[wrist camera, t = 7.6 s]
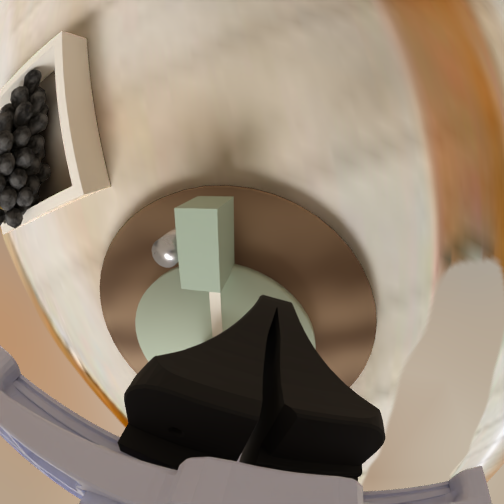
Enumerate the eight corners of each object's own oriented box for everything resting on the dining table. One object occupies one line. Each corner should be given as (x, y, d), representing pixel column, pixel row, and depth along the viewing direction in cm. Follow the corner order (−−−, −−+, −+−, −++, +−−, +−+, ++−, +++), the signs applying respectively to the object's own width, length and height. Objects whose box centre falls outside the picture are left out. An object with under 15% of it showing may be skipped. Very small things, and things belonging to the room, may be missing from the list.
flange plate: (303, 408, 24) (301, 440, 20) (157, 387, 26) (143, 412, 22) (334, 201, 17) (343, 215, 13) (120, 197, 19) (87, 209, 15)
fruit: (-25, 66, 9) (-41, 233, 14) (39, 57, 11) (16, 250, 16) (23, 74, 17) (4, 205, 22) (83, 74, 19) (57, 217, 24)
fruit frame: (110, 186, 21) (84, 194, 17) (24, 225, 24) (3, 234, 21) (86, 38, 16) (62, 30, 13) (5, 109, 19) (-17, 110, 16)
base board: (369, 406, 25) (376, 451, 19) (162, 411, 30) (145, 446, 25) (359, 155, 17) (386, 158, 11) (73, 224, 22) (28, 245, 17)
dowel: (209, 237, 21) (182, 265, 16) (187, 241, 21) (157, 269, 16) (202, 214, 20) (173, 236, 15) (181, 219, 21) (147, 241, 16)
